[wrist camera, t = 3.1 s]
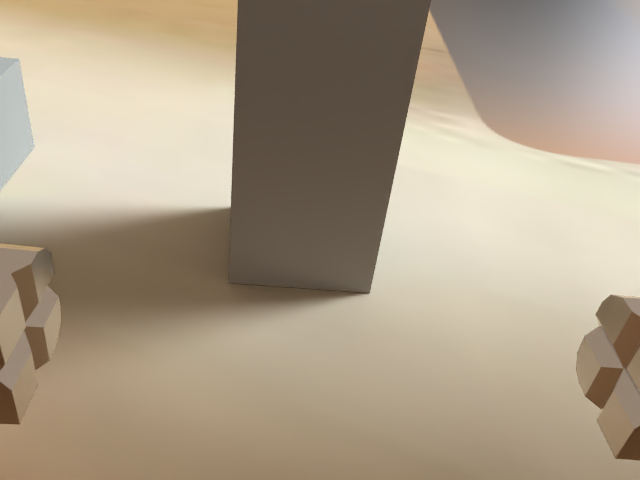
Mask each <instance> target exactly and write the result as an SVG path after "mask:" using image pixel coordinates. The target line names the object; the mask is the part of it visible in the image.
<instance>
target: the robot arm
mask: <svg viewBox="0 0 640 480" xmlns="http://www.w3.org/2000/svg"><path fill="white" fill-rule="evenodd" d="M54 273H55V270H54V265H53V261H52V256H51V253H50V252H49V251H48V250H47V249H46V248H41V247H31V246H22V245H12V244H2V243H0V424H20V423H21V421H22V419H23V417H24V415H25V413H26V410H27V408H28V406H29V404H30V402H31V400H32V398H33V396H34V393H35V391H36V389H37V387H38V382H37V377H36V372H35V370H36V369H38V368H39V367H41V366H42V365H44V364H45V363H47V362H48V361H50V359H51V356H52V354H53V352H54V349H55V347H56V344H57V340H58V335H59V330H60V326H61V308H60V301H59V296H58V295H57V294H56V293H55V292H54V291H53V290H52V289H51V288H50V287H49V286H48V284H49V282H50V280H51V278H52V276H53V275H54ZM596 317H597V320H598V322H599V325H600V326H599V327H597V328H596V329H594V330H593V331H591V332H590V333H588V334H587V335H585V336H584V339H583V341H582V343H581V345H580V347H579V350H578V352H577V364H576V371H577V376H578V381H579V384H580V386H581V388H582V391H583V393H584V395H585V397H587V398H588V399H589V400H590V401H592V402H593V403H594V404H595V405H597V406H598V407H599V408H600V412H599V415H598V418H597V422H598V424H599V426H600V428H601V430H602V432H603V434H604V436H605V439H606V441H607V443H608V445H609V447H610V449H611V451H612V453H613V455H614V457H615V458H616V459H628V460H640V297H634V296H621V295H610V296H609V297H608V298H606V299H605V300H604V301H603V302H602V304H601V305H600V307H599V309H598V311H597V313H596Z"/></svg>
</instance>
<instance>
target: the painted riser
mask: <svg viewBox="0 0 640 480" xmlns="http://www.w3.org/2000/svg"><path fill="white" fill-rule="evenodd" d="M33 148H34V141H33V136H32V130H31V124H30V119H29V113H28V107H27V101H26V96H25V90H24V84H23V79H22V73H21V67H20V61H19V59H13V58H3V57H0V190H1V188H2V187H3V186H4V185H5V183H6V182H7V181H8V179H9V178H10V177H11V176H12V174H13V173H14V172H15V170H16V169H17V168H18V167H19V165H20V164H21V163H22V162H23V160H24V159H25V158H26V156H27V155H28V154H29V153H30V151H31V150H32V149H33Z"/></svg>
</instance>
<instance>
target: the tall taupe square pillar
mask: <svg viewBox="0 0 640 480" xmlns="http://www.w3.org/2000/svg"><path fill="white" fill-rule="evenodd" d="M430 2H431V0H238V15H237V45H236V74H235V104H234V133H233V163H232V192H231V222H230V251H229V281H228V283H236V284H250V285H264V286H278V287H292V288H306V289H320V290H334V291H348V292H362V293H370V289H371V284H372V279H373V274H374V270H375V265H376V260H377V255H378V251H379V246H380V241H381V236H382V231H383V227H384V222H385V217H386V212H387V208H388V203H389V198H390V193H391V188H392V184H393V179H394V174H395V169H396V165H397V160H398V155H399V150H400V146H401V141H402V136H403V131H404V126H405V122H406V117H407V112H408V107H409V103H410V98H411V93H412V88H413V84H414V79H415V74H416V69H417V64H418V60H419V55H420V50H421V45H422V41H423V36H424V31H425V26H426V21H427V17H428V12H429V7H430Z"/></svg>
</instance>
